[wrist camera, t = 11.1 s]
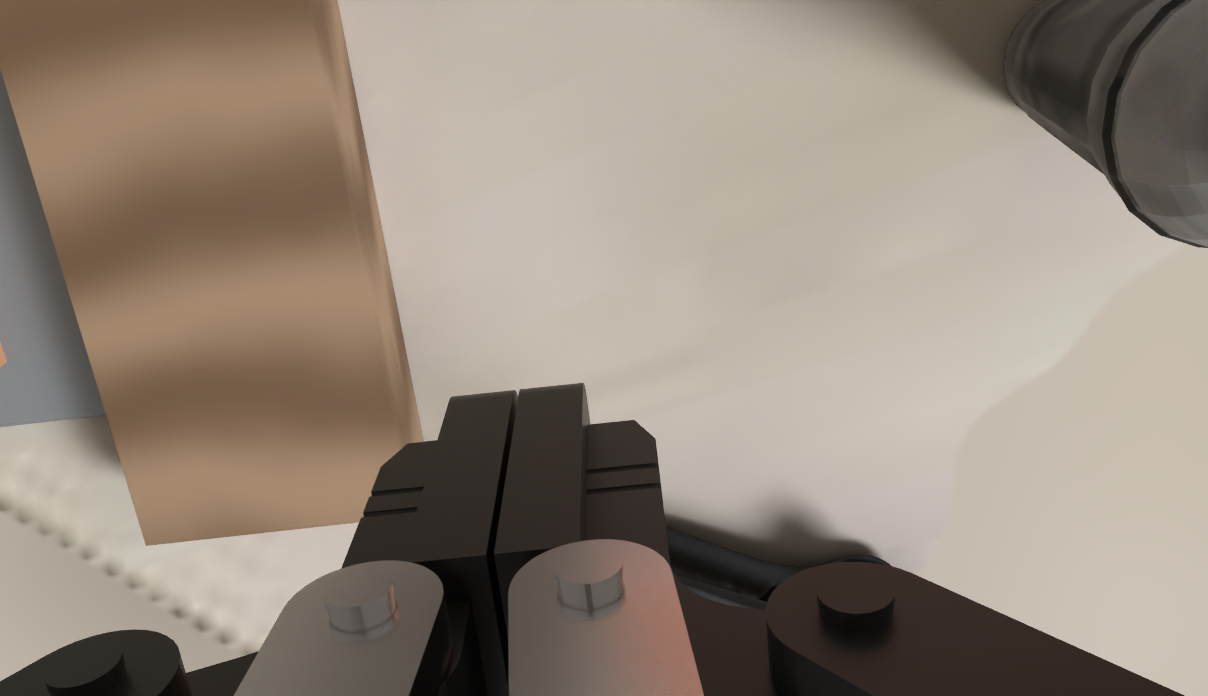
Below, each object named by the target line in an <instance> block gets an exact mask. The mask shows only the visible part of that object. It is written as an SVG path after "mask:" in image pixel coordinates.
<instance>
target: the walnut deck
mask: <svg viewBox="0 0 1208 696" xmlns="http://www.w3.org/2000/svg"><path fill="white" fill-rule="evenodd" d="M0 69H1V72H2V76H3V79H4V82H5V85H6V89H7V92H8V95H9V99H10V102H11V105H12V108H13V112H14V115H15V118H16V121H17V125H18V128H19V131H20V135H21V138H22V141H23V144H24V148H25V151H26V154H27V157H28V161H29V164H30V167H31V171H32V174H33V177H34V180H35V184H36V187H37V190H38V193H39V197H40V200H41V203H42V207H43V210H44V213H45V216H46V220H47V223H48V226H49V229H50V233H51V236H52V239H53V243H54V246H55V249H56V252H57V256H58V259H59V262H60V265H61V269H62V272H63V275H64V279H65V282H66V285H67V288H68V292H69V295H70V298H71V301H72V305H73V308H74V311H75V315H76V318H77V321H78V324H79V328H80V331H81V334H82V337H83V341H84V344H85V347H86V351H87V354H88V357H89V360H90V364H91V367H92V370H93V373H94V377H95V380H96V383H97V387H98V390H99V393H100V396H101V400H102V403H103V406H104V409H105V413H106V416H107V419H108V423H109V426H110V429H111V432H112V436H113V439H114V442H115V445H116V449H117V452H118V455H119V459H120V462H121V465H122V468H123V472H124V475H125V478H126V481H127V485H128V488H129V491H130V495H131V498H132V501H133V504H134V508H135V511H136V514H137V517H138V521H139V524H140V527H141V531H142V534H143V537H144V540H145V544H146V546H148V545H157V544H166V543H175V542H184V541H193V540H202V539H211V538H220V537H230V536H239V535H248V534H257V533H266V532H275V531H284V530H293V529H302V528H311V527H320V526H329V525H338V524H347V523H356V522H360V519H361V518H362V517H364V515H363V511H364V509H365V506H366V504H367V501H368V498H369V497H371V491H372V488H373V486H374V483H375V480H376V478H377V475H378V473H379V470H380V467H381V466H382V465H383V464H385V463H386V462H387V461H388V460H389V459H390V458H391V457H393V456H394V455H395V454H396V453H397V452H398V451H399V450H401V449H402V448H403V447H404V446H405V445H406V444H407V443H417V442H424V441H423V436H422V431H421V426H420V421H419V416H418V411H417V406H416V400H415V395H414V390H413V385H412V380H411V375H410V370H409V365H408V360H407V354H406V349H405V344H404V339H403V334H402V329H401V324H400V319H399V314H398V309H397V303H396V298H395V293H394V288H393V283H392V278H391V273H390V268H389V263H388V257H387V252H386V247H385V242H384V237H383V232H382V227H381V222H380V217H379V212H378V206H377V201H376V196H375V191H374V186H373V181H372V176H371V171H370V166H369V160H368V155H367V150H366V145H365V140H364V135H363V130H362V125H361V120H360V115H359V109H358V104H357V99H356V94H355V89H354V84H353V79H352V74H351V69H350V63H349V58H348V53H347V48H346V43H345V38H344V33H343V28H342V23H341V18H340V12H339V7H338V2H337V0H0Z"/></svg>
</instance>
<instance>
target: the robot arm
mask: <svg viewBox="0 0 1208 696" xmlns="http://www.w3.org/2000/svg"><path fill="white" fill-rule="evenodd" d="M363 515H364V517H362V518H361V519H360V522H359V524H358V527H357V530H356V532H355V535H354V537H353V540H352V542H351V545H350V548H349V550H348V553H347V555H346V558H345V561H344V563H343V566H342V568H341V569H339V570H336V571H334V572H331V573H329V574H327V575H325V576H322V577H320V578H318V579H316V580H315V581H313V582H311V583H310V584H308V585H307V586H305V587H304V588H303V589H301V590H300V591H299V592H297V593H296V594H295V595H294V596H293V597H292V598H291V599H290V600H289V601H288V603H287V604H286V606H285V607H284V608H283V610H282V612H281V613H280V615H279V617H278V619H277V620H276V622H275V624H274V626H273V627H272V629H271V631H270V633H269V634H268V636H267V638H266V640H265V641H264V643H263V645H262V647H261V648H260V650H259V651H258V652H255V653H252V654H249V655H246V656H243V657H240V658H236V659H233V660H229V661H226V662H222V663H219V664H216V665H212V666H209V667H205V668H202V669H199V670H195V671H192V672H188V673H186V672H185V669H184V665H183V662H182V659H181V656H180V652H179V648H178V646H177V645H176V644H175V642H174V641H173V640H172V639H170V638H169V637H167V636H166V635H163V634H161V633H158V632H153V631H148V630H121V631H115V632H109V633H104V634H100V635H96V636H92V637H89V638H86V639H83V640H80V641H77V642H74V643H72V644H69V645H67V646H65V647H62V648H60V649H58V650H56V651H54V652H52V653H50V654H48V655H46V656H45V657H43V658H41V659H39V660H38V661H36V662H34V663H32V664H30V665H29V666H27V667H25V668H23V669H22V670H20V671H18V672H16V673H14V674H13V675H11V676H9V677H7V678H6V679H4V680H2V681H0V696H1184V695H1182V694H1180V693H1178V692H1175V691H1173V690H1171V689H1169V688H1166V687H1164V686H1162V685H1159V684H1157V683H1155V682H1153V681H1150V680H1149V679H1146V678H1144V677H1142V676H1140V675H1137V674H1135V673H1133V672H1131V671H1128V670H1126V669H1124V668H1122V667H1120V666H1117V665H1115V664H1113V663H1111V662H1108V661H1106V660H1103V659H1102V658H1100V657H1097V656H1095V655H1093V654H1091V653H1088V652H1086V651H1084V650H1082V649H1079V648H1077V647H1075V646H1073V645H1070V644H1068V643H1066V642H1064V641H1062V640H1059V639H1057V638H1055V637H1053V636H1050V635H1048V634H1046V633H1043V632H1042V631H1039V630H1037V629H1035V628H1033V627H1030V626H1028V625H1026V624H1024V623H1022V622H1019V621H1017V620H1015V619H1012V618H1010V617H1008V616H1006V615H1004V614H1001V613H999V612H997V611H994V610H993V609H990V608H988V607H986V606H984V605H981V604H979V603H977V602H975V601H972V600H970V599H968V598H966V597H963V596H961V595H959V594H957V593H954V592H952V591H950V590H948V589H946V588H943V587H941V586H939V585H937V584H934V583H932V582H930V581H928V580H926V579H923V578H921V577H919V576H917V575H914V574H912V573H910V572H907V571H904V570H902V569H899V568H895V567H891V566H888V565H883V564H876V563H869V562H838V563H830V564H824V565H820V566H815V567H812V568H809V569H806V570H803V571H800V572H798V573H796V574H794V575H793V576H791V577H789V578H787V579H786V580H785V581H783V582H782V583H780V584H779V585H778V587H777V588H776V589H775V590H774V591H773V592H772V594H771V595H770V597H769V599H768V602H767V605H766V610H762V609H753V608H744V607H738V606H731V605H727V604H723V603H719V602H715V601H713V600H710V599H707V598H705V597H702V596H700V595H699V594H697V593H695V592H693V591H691V590H690V589H689V588H687V587H686V586H685V585H683V584H682V583H681V582H680V580H679V579H678V578H677V577H676V576H675V574H674V572H673V570H672V568H671V564H670V559H669V550H668V542H667V533H666V525H665V516H664V508H663V499H662V491H661V483H660V474H659V466H658V457H657V449H656V440H655V438H654V437H653V436H652V435H651V434H649V433H648V432H647V431H646V430H645V429H644V428H643V427H641V426H640V425H639V424H638V423H637V422H636V421H635V420H630V421H620V422H610V423H601V424H591V425H590V419H589V411H588V403H587V396H586V390H585V385H584V383H578V384H568V385H559V386H549V387H539V388H530V389H520V391H519V396H518V395H517V392H516V391H515V390H512V391H502V392H493V393H483V394H473V395H464V396H454V397H451V398H450V400H449V403H448V407H447V410H446V413H445V417H444V420H443V424H442V427H441V430H440V434H439V437H438V440H436V441H426V442H417V443H407V444H406V445H405V446H404V447H403V448H402V449H401V450H399V451H398V452H397V453H396V454H395V455H394V456H393V457H391V458H390V459H389V460H388V461H387V462H386V463H385V464H383V465H382V466H381V467H380V470H379V473H378V475H377V478H376V480H375V483H374V486H373V488H372V491H371V497H369V498H368V501H367V504H366V506H365V509H364V511H363Z"/></svg>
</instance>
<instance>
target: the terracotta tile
mask: <svg viewBox="0 0 1208 696" xmlns="http://www.w3.org/2000/svg"><path fill="white" fill-rule="evenodd" d="M5 363H7V360H6V357H5V354H4V351H3V348H2V345H1V343H0V367H1V366H3V365H4V364H5Z"/></svg>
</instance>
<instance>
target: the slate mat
mask: <svg viewBox="0 0 1208 696" xmlns="http://www.w3.org/2000/svg"><path fill="white" fill-rule="evenodd" d="M0 343H1V345H2V348H3V351H4V354H5V357H6V360H7V363H5V364H4V365H3V366H1V367H0V427H5V426H13V425H22V424H31V423H40V422H48V421H57V420H66V419H75V418H83V417H92V416H101V415H106V413H105V409H104V406H103V403H102V400H101V396H100V393H99V390H98V387H97V383H96V380H95V377H94V373H93V370H92V367H91V364H90V360H89V357H88V354H87V351H86V347H85V344H84V341H83V337H82V334H81V331H80V328H79V324H78V321H77V318H76V315H75V311H74V308H73V305H72V301H71V298H70V295H69V292H68V288H67V285H66V282H65V279H64V275H63V272H62V269H61V265H60V262H59V259H58V256H57V252H56V249H55V246H54V243H53V239H52V236H51V233H50V229H49V226H48V223H47V220H46V216H45V213H44V210H43V207H42V203H41V200H40V197H39V193H38V190H37V187H36V184H35V180H34V177H33V174H32V171H31V167H30V164H29V161H28V157H27V154H26V151H25V148H24V144H23V141H22V138H21V135H20V131H19V128H18V125H17V121H16V118H15V115H14V112H13V108H12V105H11V102H10V99H9V95H8V92H7V89H6V85H5V82H4V79H3V76H2V72H1V69H0Z"/></svg>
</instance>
